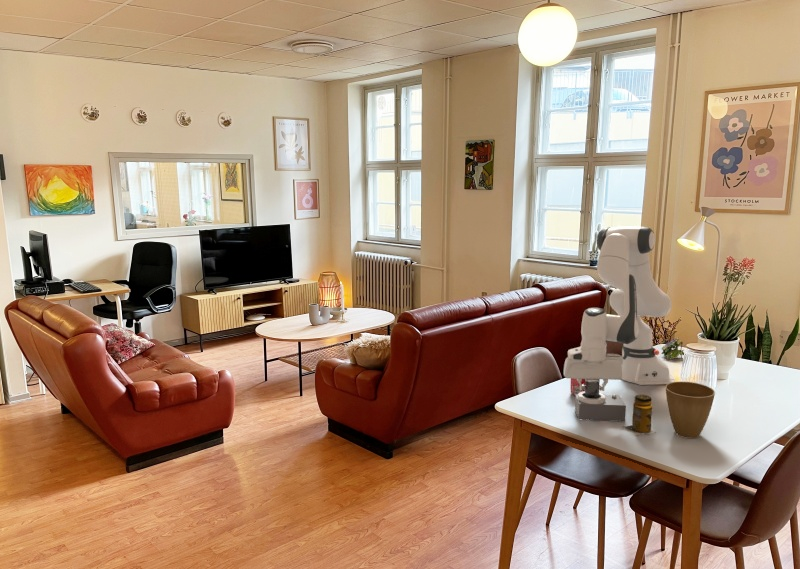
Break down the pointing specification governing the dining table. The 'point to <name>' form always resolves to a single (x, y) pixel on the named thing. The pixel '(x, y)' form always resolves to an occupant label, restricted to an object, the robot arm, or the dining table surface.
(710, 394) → the plant pot
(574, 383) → the soda can
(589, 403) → the camera body
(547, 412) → the dining table surface
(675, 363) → the dining table surface
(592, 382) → the lens
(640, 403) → the condiment
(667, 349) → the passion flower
